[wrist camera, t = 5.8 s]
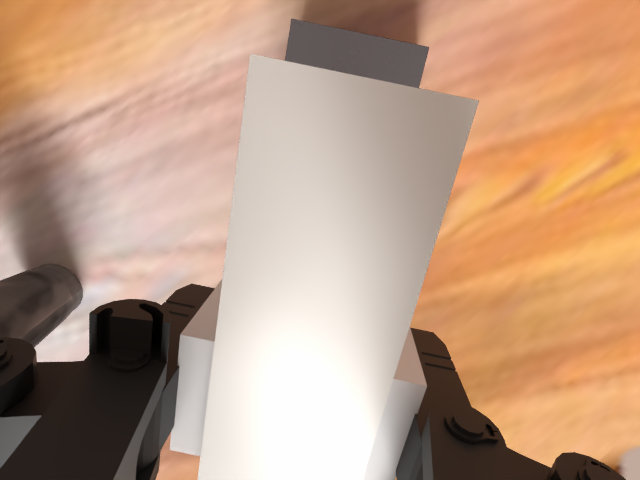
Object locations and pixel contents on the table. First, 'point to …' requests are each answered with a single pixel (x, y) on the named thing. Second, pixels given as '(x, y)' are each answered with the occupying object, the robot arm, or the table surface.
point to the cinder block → (356, 53)
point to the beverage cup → (37, 302)
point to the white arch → (323, 266)
